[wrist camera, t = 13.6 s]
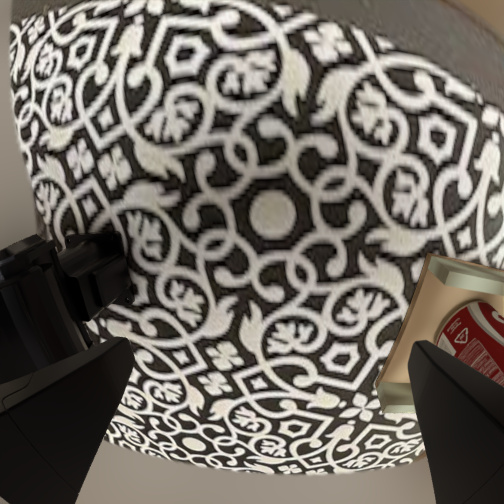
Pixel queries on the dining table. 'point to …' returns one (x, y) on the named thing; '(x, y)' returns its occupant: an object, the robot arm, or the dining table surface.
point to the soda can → (476, 339)
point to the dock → (434, 318)
